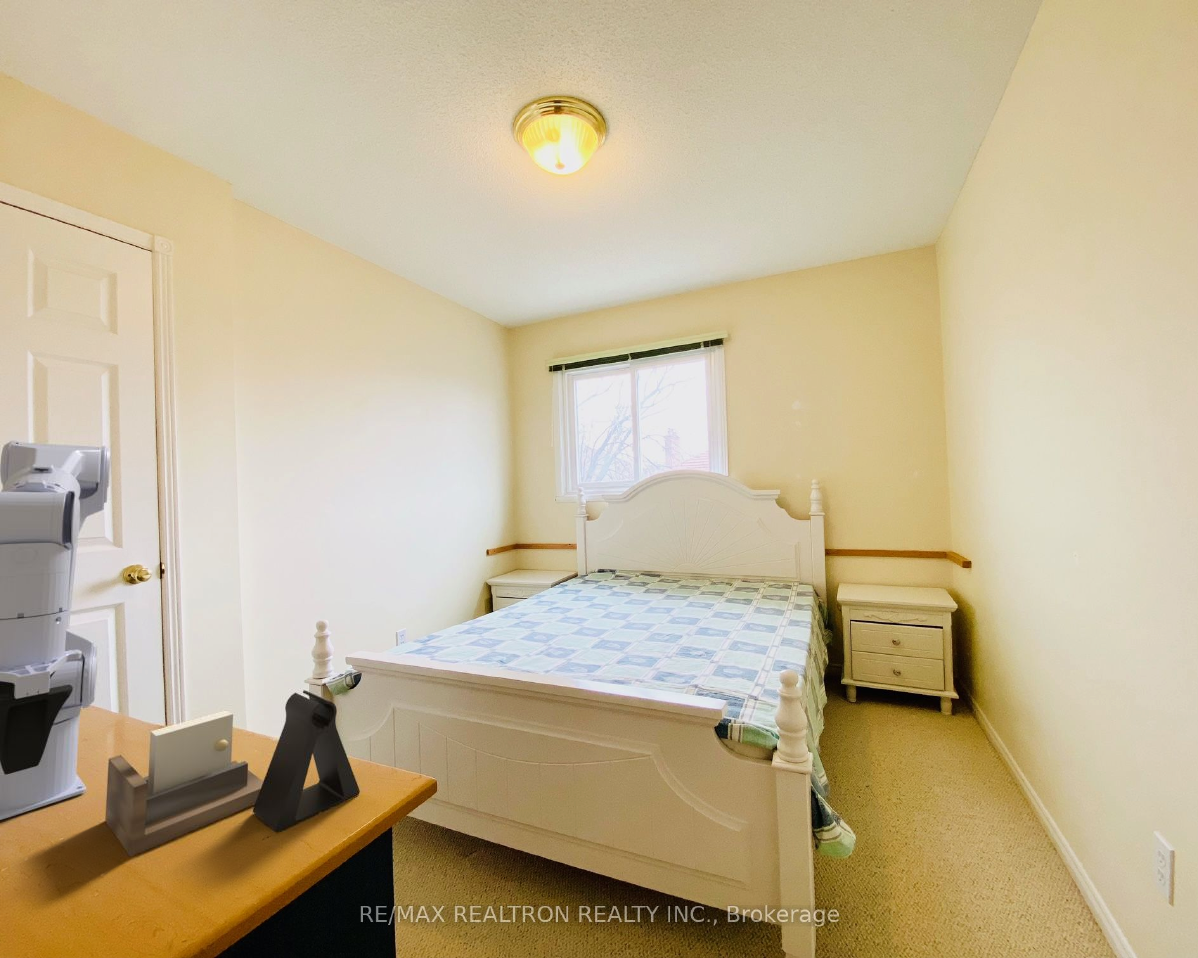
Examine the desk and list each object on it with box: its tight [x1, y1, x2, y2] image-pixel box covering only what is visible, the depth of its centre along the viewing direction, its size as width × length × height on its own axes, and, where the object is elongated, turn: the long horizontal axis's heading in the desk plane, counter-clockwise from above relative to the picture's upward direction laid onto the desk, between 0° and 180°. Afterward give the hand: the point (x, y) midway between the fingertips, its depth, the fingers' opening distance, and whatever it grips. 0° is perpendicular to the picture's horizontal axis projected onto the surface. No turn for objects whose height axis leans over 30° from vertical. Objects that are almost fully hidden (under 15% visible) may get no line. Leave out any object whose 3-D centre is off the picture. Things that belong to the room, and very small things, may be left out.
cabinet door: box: [147, 710, 234, 796], centre depth 56 cm, size 3×7×8 cm, turn 145°
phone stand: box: [252, 690, 361, 834], centre depth 58 cm, size 9×6×12 cm, turn 144°
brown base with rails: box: [105, 754, 264, 858], centre depth 56 cm, size 10×12×6 cm
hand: (15, 757), depth 48 cm, fingers open, 7 cm apart
